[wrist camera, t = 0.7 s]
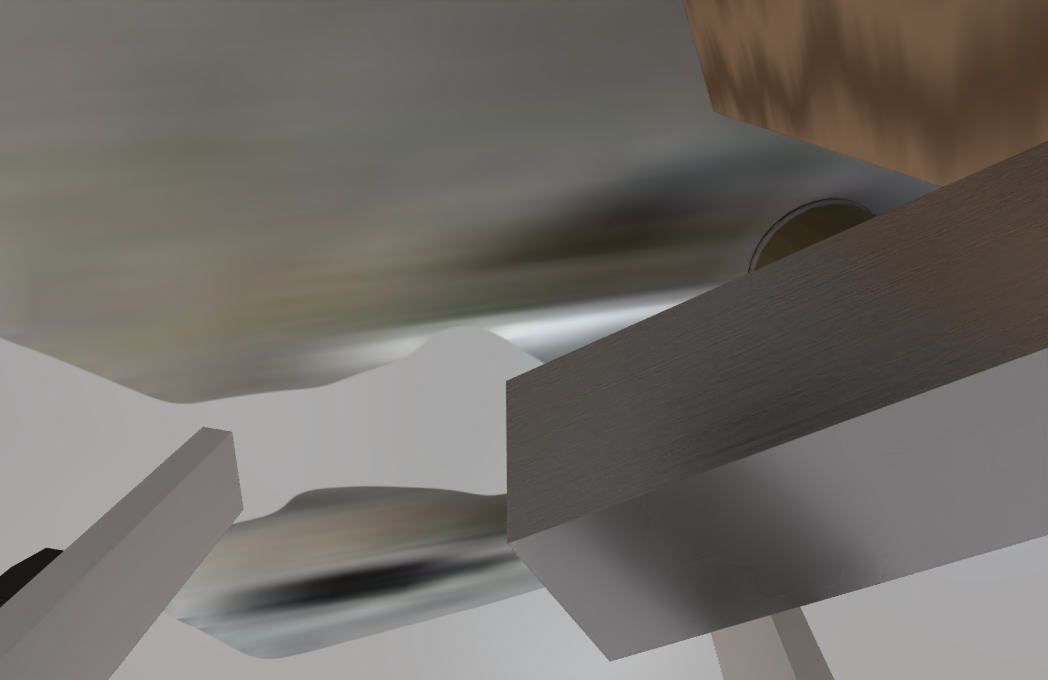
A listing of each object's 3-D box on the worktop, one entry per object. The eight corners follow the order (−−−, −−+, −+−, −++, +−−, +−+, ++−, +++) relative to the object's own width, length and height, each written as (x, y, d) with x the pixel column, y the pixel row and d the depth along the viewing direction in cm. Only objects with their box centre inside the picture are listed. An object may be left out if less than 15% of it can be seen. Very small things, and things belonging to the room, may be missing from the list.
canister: (780, 188, 36) (1023, 317, 19) (904, 208, 38) (1237, 346, 21) (726, 314, 42) (879, 500, 25) (837, 328, 43) (1054, 515, 26)
